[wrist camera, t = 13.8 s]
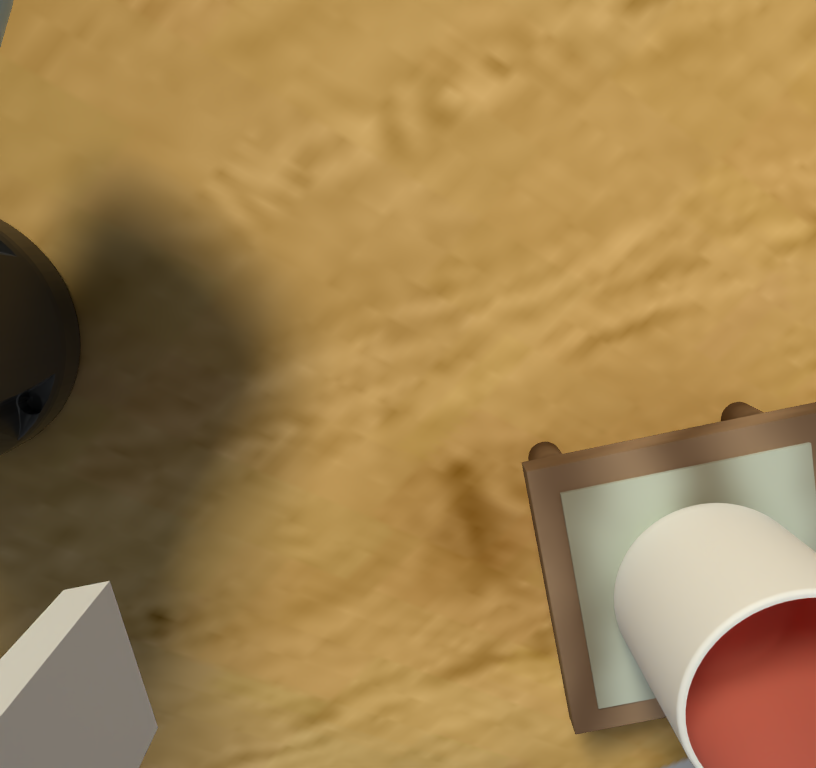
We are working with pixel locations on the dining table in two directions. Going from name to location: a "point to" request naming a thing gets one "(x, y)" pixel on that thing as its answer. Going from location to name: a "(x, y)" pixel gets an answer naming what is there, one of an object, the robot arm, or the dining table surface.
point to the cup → (725, 634)
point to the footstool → (636, 511)
